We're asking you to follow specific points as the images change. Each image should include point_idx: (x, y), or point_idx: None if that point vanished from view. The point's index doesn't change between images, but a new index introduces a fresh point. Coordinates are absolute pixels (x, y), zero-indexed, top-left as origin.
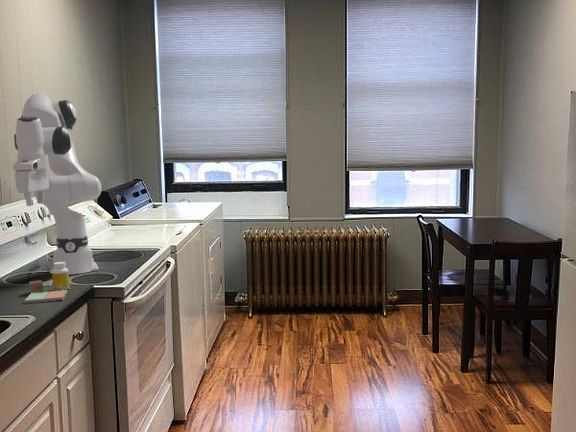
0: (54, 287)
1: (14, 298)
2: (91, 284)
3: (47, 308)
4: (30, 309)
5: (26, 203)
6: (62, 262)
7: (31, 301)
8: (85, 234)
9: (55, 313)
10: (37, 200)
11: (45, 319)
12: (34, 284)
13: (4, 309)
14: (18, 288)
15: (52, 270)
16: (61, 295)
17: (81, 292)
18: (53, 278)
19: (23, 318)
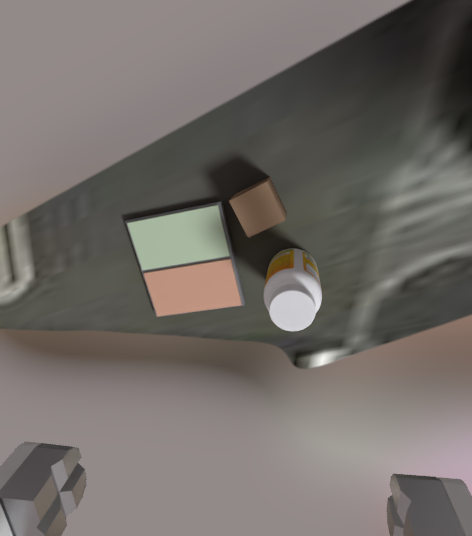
0: (272, 260)
1: (192, 157)
2: (354, 339)
3: (86, 299)
4: (75, 260)
5: (4, 463)
6: (300, 320)
7: (132, 240)
8: None
9: (48, 330)
10: (405, 518)
11: (4, 323)
12: (236, 213)
13: (70, 188)
14: (351, 94)
15: (283, 275)
16: (176, 308)
17: (248, 336)
18: (272, 270)
19: (3, 274)
